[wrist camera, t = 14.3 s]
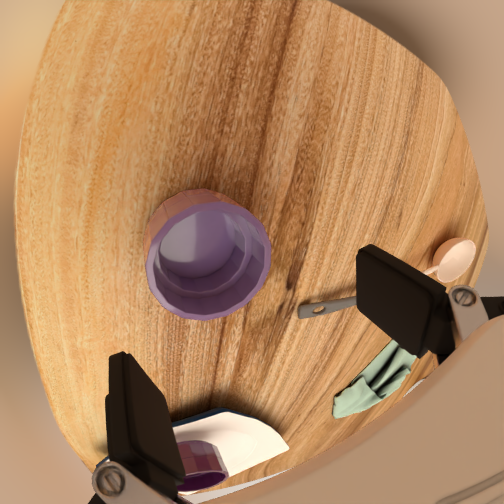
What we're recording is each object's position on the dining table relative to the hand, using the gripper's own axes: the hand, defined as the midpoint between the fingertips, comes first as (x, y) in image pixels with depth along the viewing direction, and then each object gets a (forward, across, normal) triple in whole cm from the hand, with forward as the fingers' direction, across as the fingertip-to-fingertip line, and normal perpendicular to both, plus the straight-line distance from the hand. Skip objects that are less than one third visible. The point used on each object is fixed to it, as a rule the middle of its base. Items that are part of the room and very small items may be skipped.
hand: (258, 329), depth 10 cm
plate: (+9, +11, +26) cm, 29 cm away
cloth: (+10, -20, +34) cm, 41 cm away
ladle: (+10, -19, +12) cm, 25 cm away
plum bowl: (+6, +10, +20) cm, 23 cm away
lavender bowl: (+9, 0, 0) cm, 9 cm away
